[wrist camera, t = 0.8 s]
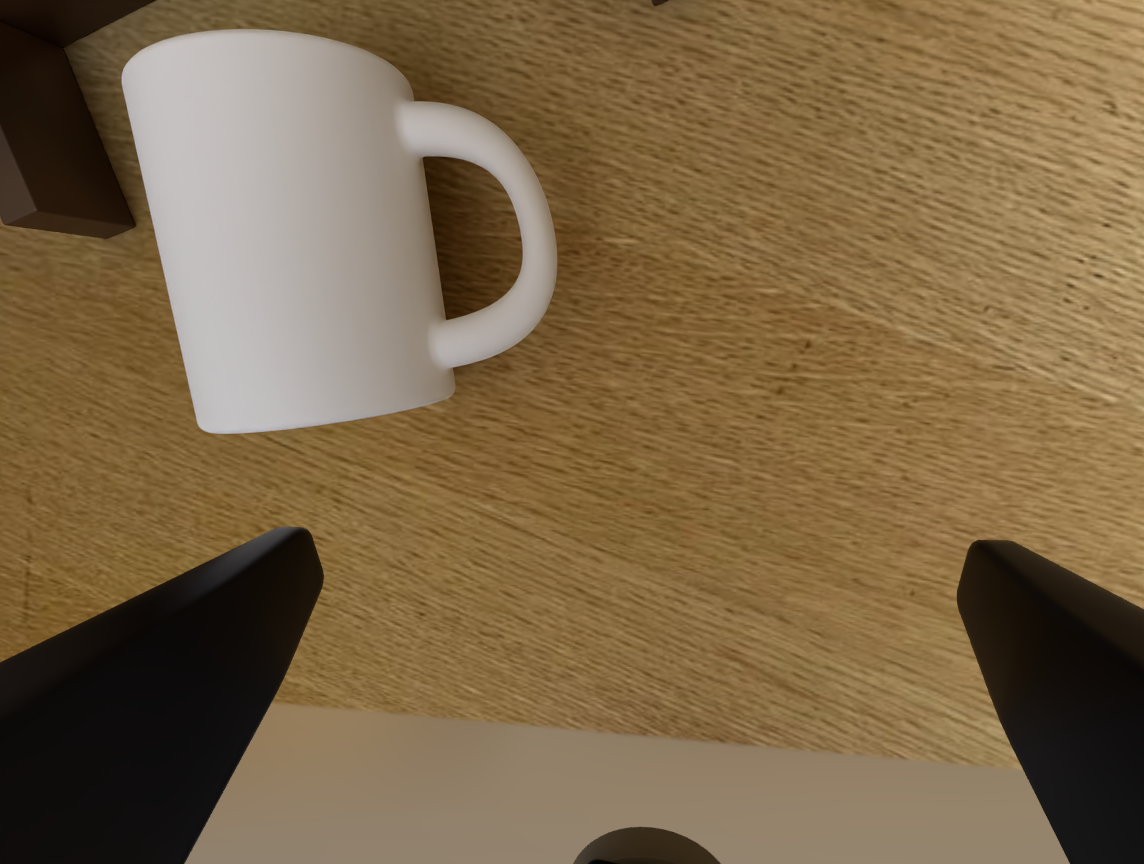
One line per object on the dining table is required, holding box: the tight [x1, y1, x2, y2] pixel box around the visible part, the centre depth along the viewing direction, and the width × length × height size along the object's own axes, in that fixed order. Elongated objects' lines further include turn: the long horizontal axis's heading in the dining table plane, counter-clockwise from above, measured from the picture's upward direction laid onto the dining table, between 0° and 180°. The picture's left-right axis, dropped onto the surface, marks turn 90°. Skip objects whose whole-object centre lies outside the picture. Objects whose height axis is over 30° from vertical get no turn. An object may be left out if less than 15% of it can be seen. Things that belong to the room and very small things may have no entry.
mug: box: [122, 29, 557, 434], centre depth 19 cm, size 12×10×8 cm
